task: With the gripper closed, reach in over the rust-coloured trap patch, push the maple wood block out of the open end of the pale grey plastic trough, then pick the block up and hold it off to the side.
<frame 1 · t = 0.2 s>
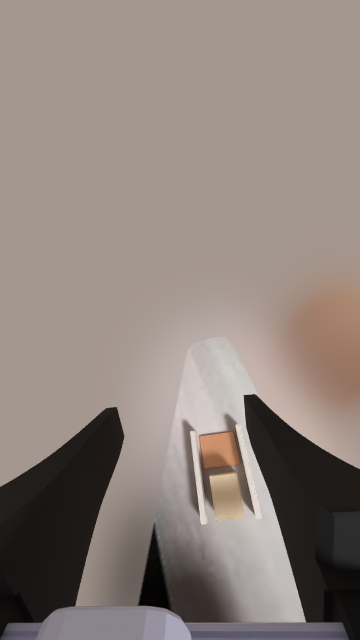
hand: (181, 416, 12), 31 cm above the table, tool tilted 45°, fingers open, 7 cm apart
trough: (222, 469, 36), on the table
block: (226, 492, 35), on the table
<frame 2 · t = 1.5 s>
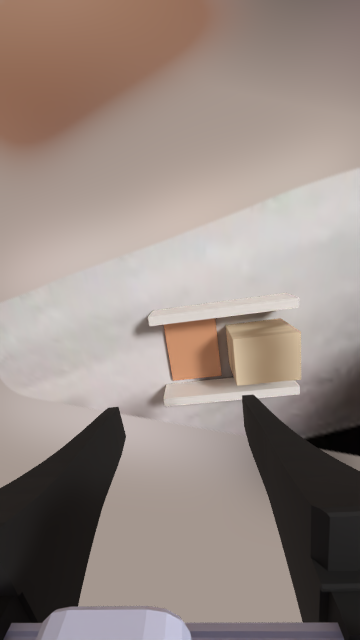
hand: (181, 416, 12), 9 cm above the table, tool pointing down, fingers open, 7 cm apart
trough: (222, 345, 21), on the table
block: (253, 341, 21), on the table
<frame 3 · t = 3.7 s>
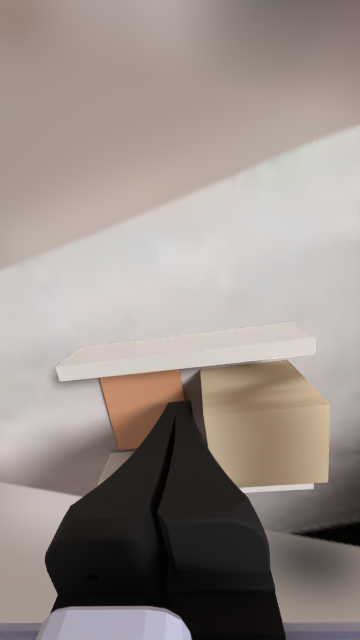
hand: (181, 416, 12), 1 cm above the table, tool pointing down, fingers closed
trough: (191, 400, 13), on the table
block: (245, 394, 13), on the table, touching gripper
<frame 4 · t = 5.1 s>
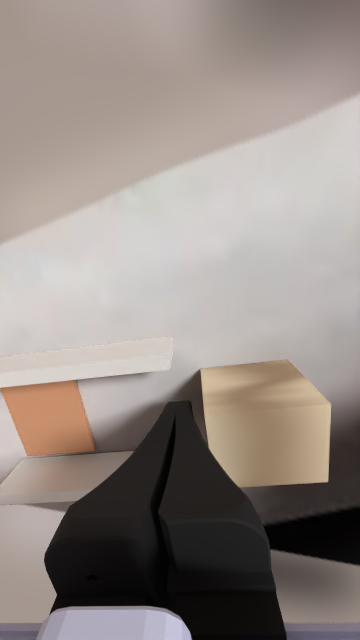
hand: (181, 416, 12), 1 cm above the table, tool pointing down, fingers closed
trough: (90, 409, 14), on the table
block: (245, 394, 13), on the table, touching gripper
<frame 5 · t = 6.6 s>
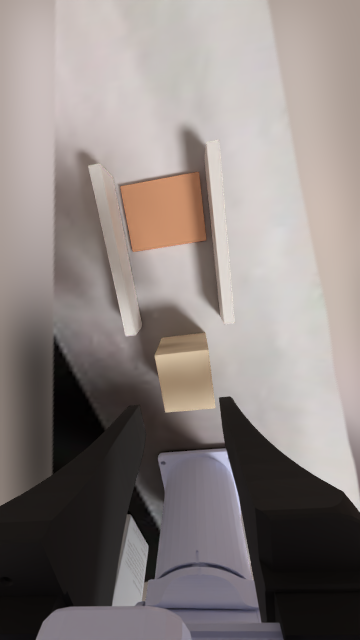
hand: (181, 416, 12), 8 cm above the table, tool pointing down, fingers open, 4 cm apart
skincare box: (127, 530, 27), on the table
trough: (170, 251, 18), on the table
block: (187, 359, 21), on the table
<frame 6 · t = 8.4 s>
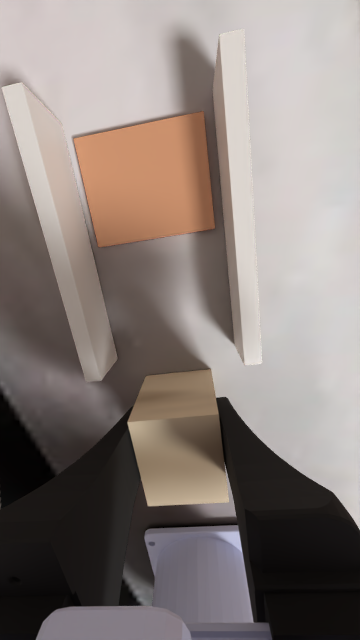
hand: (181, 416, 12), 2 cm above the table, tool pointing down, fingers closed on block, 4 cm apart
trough: (157, 246, 11), on the table
block: (183, 407, 14), on the table, touching gripper
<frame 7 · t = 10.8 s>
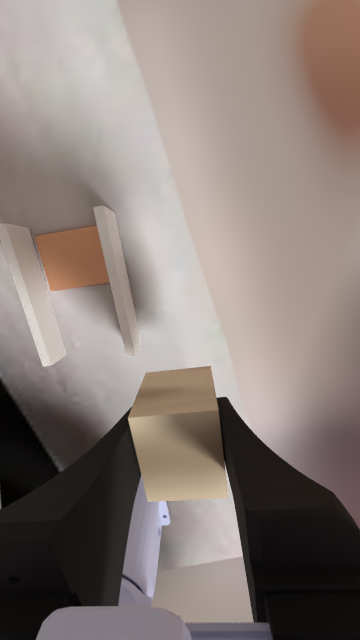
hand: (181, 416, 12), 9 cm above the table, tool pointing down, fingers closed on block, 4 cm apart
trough: (84, 290, 20), on the table
block: (183, 404, 14), point 8 cm above the table, touching gripper
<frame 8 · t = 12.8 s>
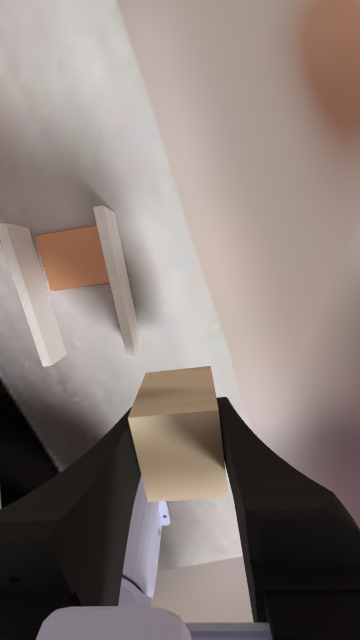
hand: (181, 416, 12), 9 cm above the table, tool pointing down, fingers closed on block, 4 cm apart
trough: (84, 290, 20), on the table
block: (183, 404, 14), point 8 cm above the table, touching gripper
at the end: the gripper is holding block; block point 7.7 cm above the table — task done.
